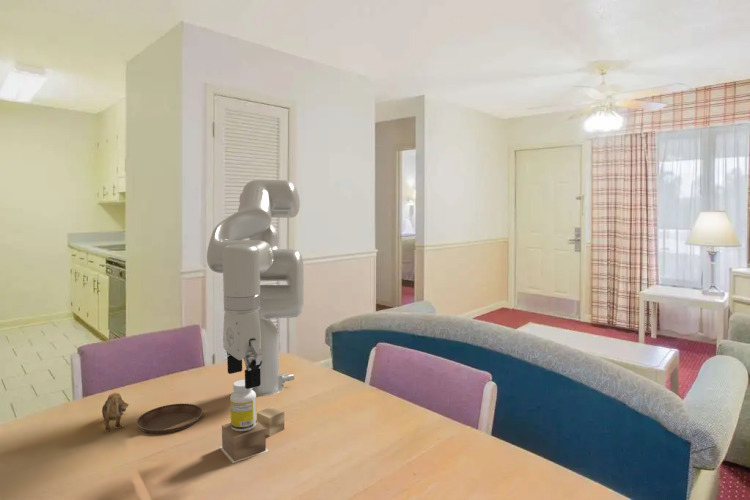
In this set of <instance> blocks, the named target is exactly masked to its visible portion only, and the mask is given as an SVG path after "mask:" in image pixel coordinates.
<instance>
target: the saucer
mask: <svg viewBox="0 0 750 500" xmlns="http://www.w3.org/2000/svg"><path fill="white" fill-rule="evenodd" d="M202 414H203V409H202V408H201V407H200V406H198V405H196V404H192V403H173V404H166V405H162V406H159V407H155V408H153V409H150V410H148V411H146V412H144V413H142V414H141V415H140V416H138V418H137V419H136V425H137V426H138V427H139V429H140V430H142V431H143V432H145V433H146V434H169V433H174V432H178V431H181V430H184V429H187V428H189V427H190V426H193V425H194V424H195V423H197V422H198V421H199V419H200V418H201V417H202ZM193 419H194V420H193ZM191 420H192V421H191ZM188 421H190V422H188ZM185 422H188V423H186V424H183V423H185ZM180 424H183V425H180ZM178 425H180V426H178ZM174 426H175V427H174Z"/></svg>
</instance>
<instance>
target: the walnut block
mask: <svg viewBox="0 0 750 500" xmlns="http://www.w3.org/2000/svg"><path fill="white" fill-rule="evenodd" d="M266 437H267V435H266V428H265V427H263V426H262V425H261V424H260V423H259V422H258V421H257V424H256V426H255V427H254V428H253V429H251V430H248V431H235V430H233V429H232V428H231V422H228V423H226V424H222V425H221V446H222V448H223V449H224V450H225V451H226V452H227V453H228V454H229V456H230V457H231V458H232V459H233V460H234V461H236V460H239V459H242V458H245V457H248V456H251V455H254V454H257V453H260V452H263V451H266V449H267V445H266V444H267V443H266V442H267V441H266V440H267V438H266Z"/></svg>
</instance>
